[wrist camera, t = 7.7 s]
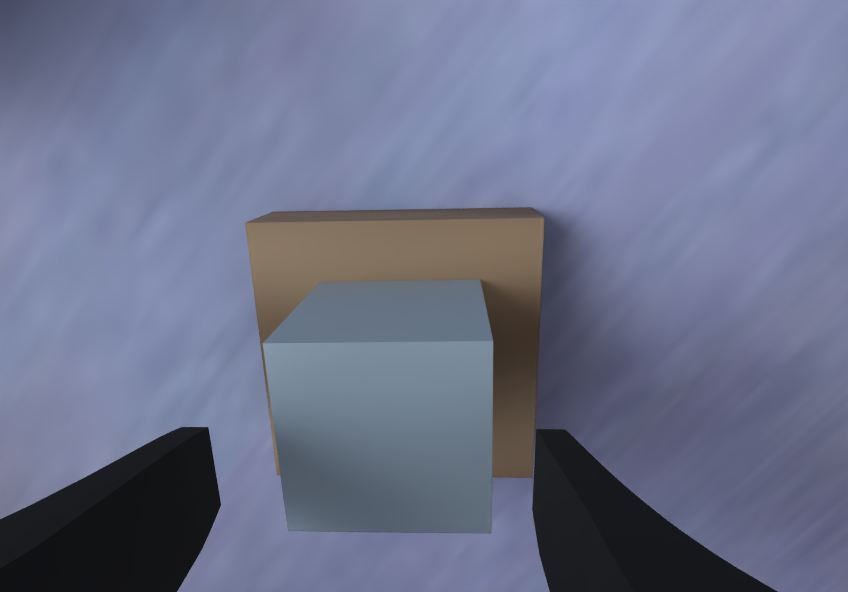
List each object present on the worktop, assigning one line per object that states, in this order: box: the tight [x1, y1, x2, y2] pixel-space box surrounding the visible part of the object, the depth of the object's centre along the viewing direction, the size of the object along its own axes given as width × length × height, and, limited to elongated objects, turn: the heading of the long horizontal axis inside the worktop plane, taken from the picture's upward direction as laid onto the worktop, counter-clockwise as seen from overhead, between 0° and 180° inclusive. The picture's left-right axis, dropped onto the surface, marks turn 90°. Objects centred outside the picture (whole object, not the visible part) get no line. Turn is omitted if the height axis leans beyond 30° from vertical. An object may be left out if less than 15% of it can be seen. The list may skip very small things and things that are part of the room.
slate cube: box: [263, 279, 493, 534], centre depth 14 cm, size 5×5×5 cm
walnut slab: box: [245, 207, 544, 478], centre depth 18 cm, size 9×9×3 cm
